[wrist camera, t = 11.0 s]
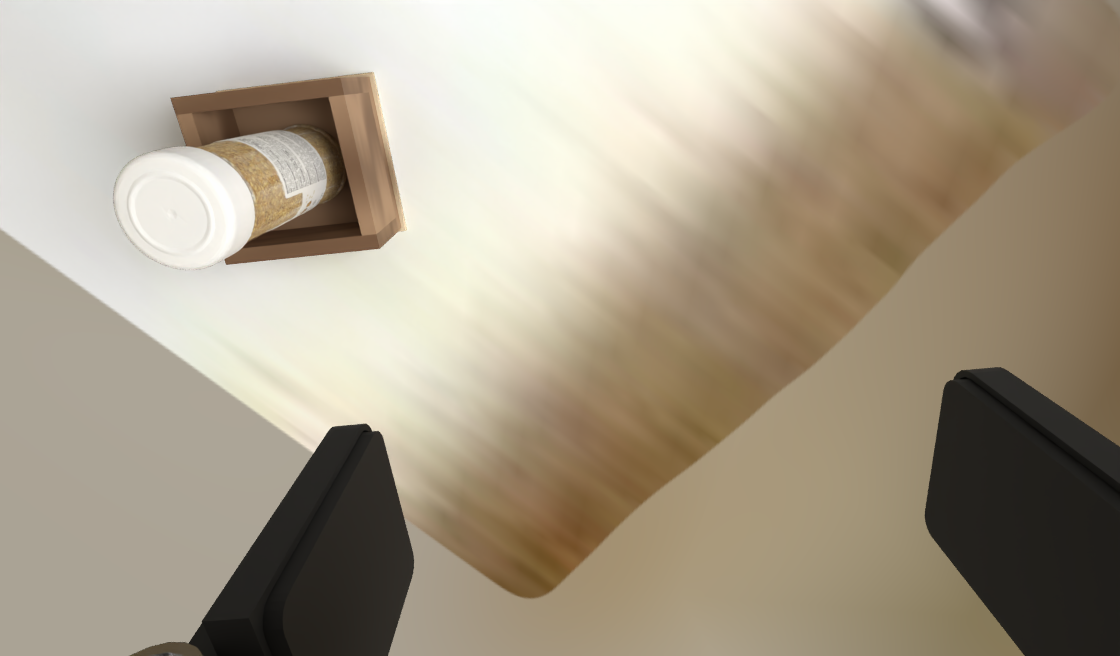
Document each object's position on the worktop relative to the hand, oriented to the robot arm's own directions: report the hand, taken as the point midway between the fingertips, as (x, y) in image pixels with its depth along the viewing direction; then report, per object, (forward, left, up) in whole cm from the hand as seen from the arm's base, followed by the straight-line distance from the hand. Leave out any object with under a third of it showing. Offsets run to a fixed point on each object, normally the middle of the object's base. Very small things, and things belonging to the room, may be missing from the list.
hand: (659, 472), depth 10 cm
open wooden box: (-3, -16, -28) cm, 33 cm away
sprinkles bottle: (-3, -16, -28) cm, 32 cm away
